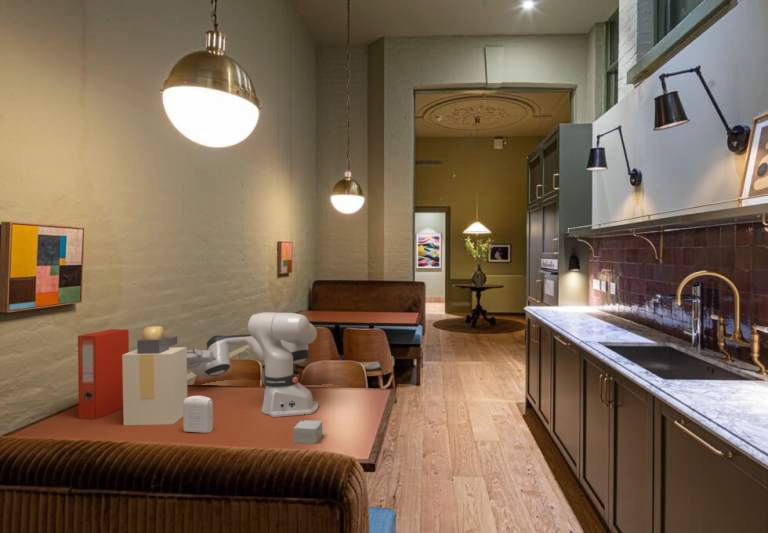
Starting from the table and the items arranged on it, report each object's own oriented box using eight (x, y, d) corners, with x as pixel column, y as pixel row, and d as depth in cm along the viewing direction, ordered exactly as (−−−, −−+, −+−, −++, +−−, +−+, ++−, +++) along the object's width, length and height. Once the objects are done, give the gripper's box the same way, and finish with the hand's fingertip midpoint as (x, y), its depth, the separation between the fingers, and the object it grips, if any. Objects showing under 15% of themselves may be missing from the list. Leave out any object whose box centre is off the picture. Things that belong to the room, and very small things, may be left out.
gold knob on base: (159, 353, 168) (158, 327, 168) (137, 353, 168) (137, 328, 168) (183, 343, 189) (182, 320, 189) (163, 343, 189) (163, 320, 189)
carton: (187, 412, 181) (186, 347, 181) (172, 424, 168) (171, 354, 167) (141, 413, 181) (140, 348, 180) (123, 425, 167) (122, 354, 167)
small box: (316, 444, 148) (316, 428, 148) (293, 443, 149) (292, 427, 149) (322, 435, 156) (322, 420, 156) (300, 434, 157) (300, 419, 157)
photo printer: (215, 429, 162) (214, 394, 162) (208, 433, 158) (208, 398, 158) (188, 428, 164) (187, 393, 164) (181, 432, 160) (180, 397, 160)
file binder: (129, 405, 191) (128, 329, 191) (97, 419, 174) (95, 336, 174) (113, 404, 192) (111, 329, 192) (78, 418, 175) (77, 335, 175)
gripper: (216, 366, 209) (206, 357, 197) (171, 367, 209) (158, 358, 197) (218, 353, 212) (208, 343, 200) (174, 354, 212) (161, 344, 200)
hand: (183, 350), depth 199 cm, fingers open, 8 cm apart
